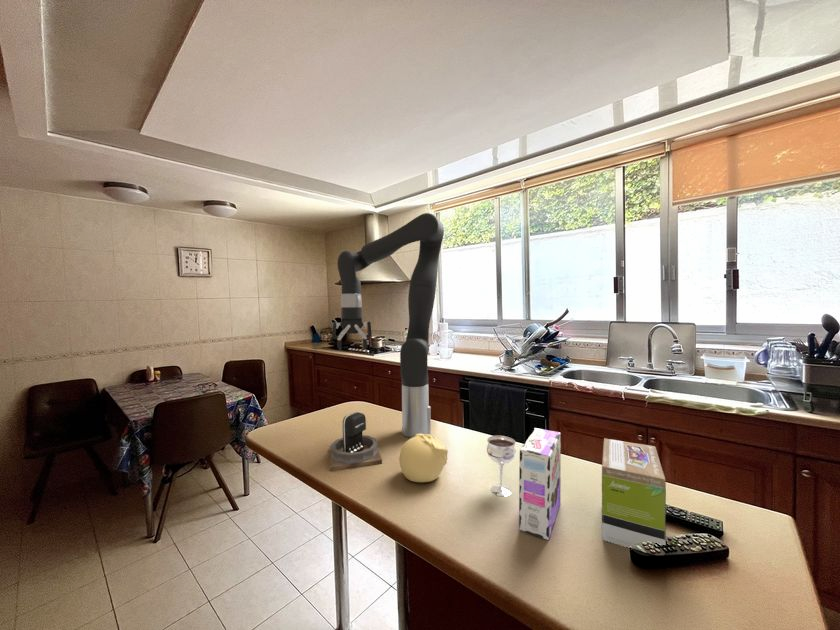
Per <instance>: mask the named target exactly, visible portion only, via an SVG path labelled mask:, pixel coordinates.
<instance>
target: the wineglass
mask: <svg viewBox="0 0 840 630" xmlns="http://www.w3.org/2000/svg"><path fill="white" fill-rule="evenodd" d="M486 441H487V443H488V444H487V445H486V452H487V455H488V457H489V458H490V459H491V460H492V461H493V462H495V463H496V464H498V465H499V484H494V485H492V486H491V487H490V491H491V493H493V495H495V496H499V497H508V496H510V495H512V492H513V491H512V489H511V488H510V487H509V486H507V485H504V484H503V473H504V472H503V468H504V465H506V464H509V463H510V462H511V461H512V460H514V459H515V456H516V453H517V450H516V447H515V445H516V440H515V439H513V438H512V437H509V436H505V435H491V436H490V437H488V438H487V439H486Z"/></svg>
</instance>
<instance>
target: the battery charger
mask: <svg viewBox="0 0 840 630" xmlns="http://www.w3.org/2000/svg"><path fill="white" fill-rule="evenodd" d="M366 430H367V420H366V415H365V414H364V413H361V412H359V411H355V412H352V413H350V414H347V415H345V416H344V417H343V419H342V438H343V452H347V453H354V452H360V451H362V450H363V449H364V444H363V440H362V435H363V431H366Z"/></svg>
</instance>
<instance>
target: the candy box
mask: <svg viewBox="0 0 840 630" xmlns="http://www.w3.org/2000/svg"><path fill="white" fill-rule="evenodd" d="M533 429H534V430H533V431H532V433H531V434H530V435H529V436H528V438H527V439H526V441H525V443H524V444H523V445H522V446H521V448H520V449H519V468H518V469H519V475H518V476H519V479H518V480H519V482H518V483H519V487H518V488H519V489H518V490H519V493H518V494H519V497H518V498H519V500H518V501H519V502H518V503H519V504H518V508H519V509H518V517H519V518H518V523H519V524H518V530H519V531H522V532H524V533H527V534H530V535H532V536H536V537H538V538H541V539H544V540H546V541H549V540H550V538H551V536H552V531H553V528H554V526H555V522H556V519H557V515H558V512H559V510H560V505H561V488H562V487H561V479H562V478H561V469H562V468H561V464H562V463H561V462H562V461H561V440H562V437H561V435H562V434H561V432H559V431H556V430H555V431H554V430H548V429H544V428H537V427H534V428H533Z"/></svg>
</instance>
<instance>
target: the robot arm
mask: <svg viewBox="0 0 840 630" xmlns="http://www.w3.org/2000/svg"><path fill="white" fill-rule="evenodd" d="M444 236H445V228H444V225H443V222H442V221H441V220H440V219H439V218H438V217H437V216H436V215H434V214H433V213H430V212H425V213H422V214H420V215H418V216H416V217H414V218H413V219H411V220H410V221H409V222H407V223H406V224H404V225H403V226H401V227H399V228H397V229H396V230H394V231H392V232H391V233H388V234H386V235H384V236H382V237H380V238H378V239H375V240H373V241H371V242H369V243H366V244H364V245H362V247H361V250H358V251H357V252H352V251H350V250H345V251H341V252H340V254H339V255H338V257H337V269H338V274H339V275H338V276H339V279H340V282H341V298H340V299H341V300H340V306H341V307H340V312H341V315H340V316H341V317H340V318H341V320H340V322H335V321H334V322H333V323H332V332H331V335H332V336H331V339H333V340H335V341H337V343H336V344H337V349H338V350H339V352H340V351H342V349H343V348H342V339H343V337H344V336H345V334H348V335H350V334H355V335H356V334H359V335H360V336H361V338H362V339H361V340H362V350H366V348H367V347H368V344H367V343H368V341H367V340H368V339H369V338H372V335H373V333H372V322H371V321H369V320H367V321H365V322H364V321H363V301H362V300H363V299H362V284H361V280H360V279H359V278H358V277H357V274H356V272H361V271H363V270H364V269H366V268H367V267H369V266H371V265H372V264H373V263H377V262H379V261H381V260H383V259H386V258H388V257H390V256H392V255H393V254H394V253H395V252H397V251H399V250H401V248H403V247H405V246H407V245H410V244H412V243H415V242H419V251H418V252H419V253H418V258H417V262H416V264H415V267H414V269H413V271H412V274H411V277H410V280H409V288H408V296H407V297H408V300H407V303H408V305H407V307H408V330H407V334H406V339H405V341H404V342H403V344H402V345H401V347H400V352H399V361H400V362H399V365H400V378H401V409H402V410H401V412H402V413H401V414H402V416H401V423H402V425H401V428H402V435H403V436H405V437H407V438H410V439H411V438H413V437H415V435H416V434H431V435H432V433H431V431H432V428H431V425H432V424H431V409H432V407H431V406H430V405H429V396H430V394H429V373H428V371H429V370H428V367H429V366H428V356H429V352H430V351H429V350H430V346H429V345H430V344H429V340H430V339H429V337H430V323H431V320H432V315H433V309H434V304H435V298H436V291H437V289H436V288H437V279H438V272H439V271H438V269H439V259H440V252H441V248H442V244H443V240H444ZM339 326H340V327H341V329H342V330H341V332H340V333H339V334H338V335H337V329H338V328H339ZM363 327H364V328H366V333H367V334H365V333H364V332H363V330H362V328H363Z"/></svg>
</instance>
